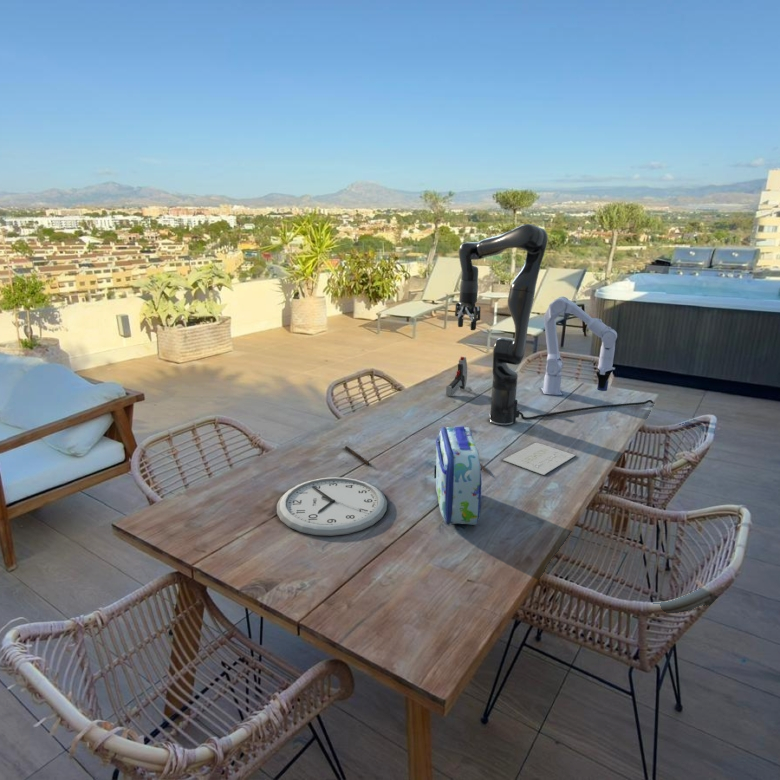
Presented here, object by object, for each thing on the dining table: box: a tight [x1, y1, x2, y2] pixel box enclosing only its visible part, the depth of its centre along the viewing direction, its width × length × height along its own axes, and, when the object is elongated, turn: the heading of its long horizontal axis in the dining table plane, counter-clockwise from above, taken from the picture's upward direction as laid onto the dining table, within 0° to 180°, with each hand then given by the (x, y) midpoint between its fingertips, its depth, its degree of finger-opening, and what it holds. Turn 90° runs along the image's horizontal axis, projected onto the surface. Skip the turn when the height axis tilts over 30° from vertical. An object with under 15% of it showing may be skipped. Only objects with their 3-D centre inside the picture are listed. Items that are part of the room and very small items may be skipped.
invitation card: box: [502, 442, 577, 476], centre depth 174 cm, size 21×1×15 cm
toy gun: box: [445, 356, 468, 397], centre depth 239 cm, size 2×16×15 cm
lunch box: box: [433, 425, 482, 526], centre depth 140 cm, size 26×11×21 cm, turn 179°
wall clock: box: [276, 476, 388, 537], centre depth 142 cm, size 30×2×30 cm
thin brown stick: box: [344, 445, 370, 465], centre depth 173 cm, size 15×1×1 cm, turn 34°
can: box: [596, 381, 609, 392], centre depth 233 cm, size 4×4×4 cm
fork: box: [480, 463, 488, 474], centre depth 169 cm, size 3×16×2 cm, turn 15°
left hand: (466, 328), depth 228 cm, fingers open, 8 cm apart
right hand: (602, 386), depth 233 cm, fingers closed on can, 4 cm apart
